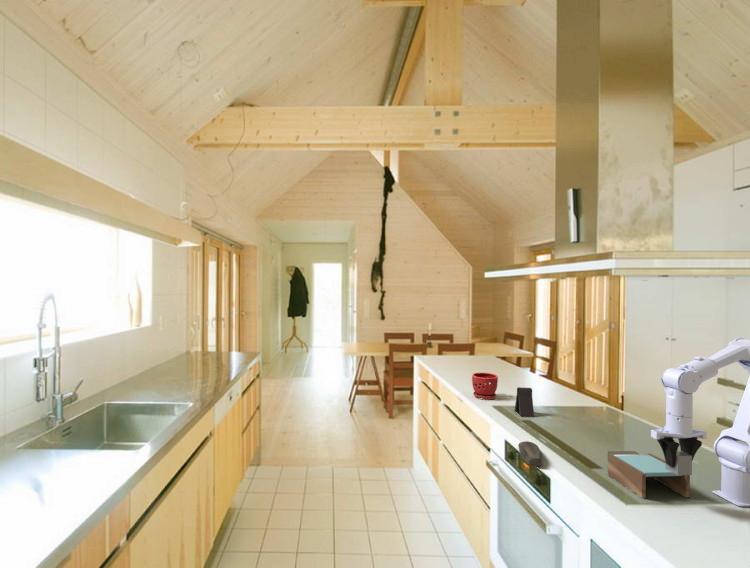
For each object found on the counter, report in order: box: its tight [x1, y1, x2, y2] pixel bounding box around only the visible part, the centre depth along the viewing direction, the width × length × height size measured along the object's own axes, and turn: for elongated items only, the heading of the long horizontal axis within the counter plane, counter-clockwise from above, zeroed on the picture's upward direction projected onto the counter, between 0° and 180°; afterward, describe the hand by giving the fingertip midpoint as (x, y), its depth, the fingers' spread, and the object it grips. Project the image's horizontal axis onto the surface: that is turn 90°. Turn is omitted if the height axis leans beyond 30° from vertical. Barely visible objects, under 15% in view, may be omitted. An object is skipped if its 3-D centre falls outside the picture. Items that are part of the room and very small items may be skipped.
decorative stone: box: [517, 440, 543, 467], centre depth 137 cm, size 17×6×4 cm, turn 168°
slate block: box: [665, 449, 693, 476], centre depth 109 cm, size 4×4×5 cm
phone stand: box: [514, 386, 535, 418], centre depth 188 cm, size 9×6×12 cm, turn 179°
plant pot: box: [471, 372, 499, 400], centre depth 216 cm, size 13×13×12 cm
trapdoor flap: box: [607, 450, 682, 476], centre depth 121 cm, size 11×17×4 cm, turn 5°
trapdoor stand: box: [607, 453, 691, 499], centre depth 119 cm, size 14×14×6 cm
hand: (678, 465), depth 109 cm, fingers closed on slate block, 4 cm apart
